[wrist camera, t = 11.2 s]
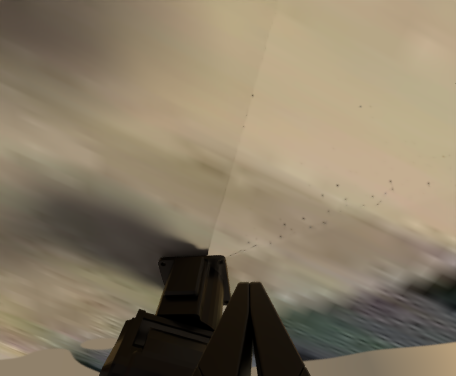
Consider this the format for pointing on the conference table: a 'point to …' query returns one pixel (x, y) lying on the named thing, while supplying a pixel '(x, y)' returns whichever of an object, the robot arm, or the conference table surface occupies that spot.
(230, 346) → the robot arm
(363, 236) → the conference table surface
